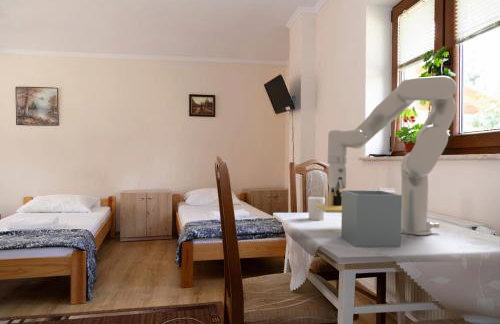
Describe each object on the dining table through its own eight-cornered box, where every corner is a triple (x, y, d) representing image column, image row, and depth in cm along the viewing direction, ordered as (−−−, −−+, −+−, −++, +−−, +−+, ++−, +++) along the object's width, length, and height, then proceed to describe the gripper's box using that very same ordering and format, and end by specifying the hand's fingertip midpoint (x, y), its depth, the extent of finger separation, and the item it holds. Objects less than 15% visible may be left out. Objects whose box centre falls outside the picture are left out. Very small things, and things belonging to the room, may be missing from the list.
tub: (381, 236, 139) (381, 190, 139) (400, 246, 124) (401, 195, 124) (341, 236, 138) (342, 190, 137) (356, 247, 123) (357, 194, 123)
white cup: (304, 218, 178) (305, 196, 178) (319, 217, 180) (320, 196, 180) (312, 221, 170) (312, 198, 170) (327, 220, 173) (328, 198, 172)
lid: (352, 206, 158) (352, 192, 158) (367, 212, 142) (368, 197, 142) (315, 206, 157) (315, 191, 157) (325, 212, 141) (326, 196, 141)
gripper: (353, 161, 147) (351, 208, 147) (339, 160, 164) (337, 202, 164) (334, 160, 146) (332, 207, 147) (322, 159, 163) (321, 202, 163)
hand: (335, 204), depth 155 cm, fingers closed on lid, 4 cm apart
